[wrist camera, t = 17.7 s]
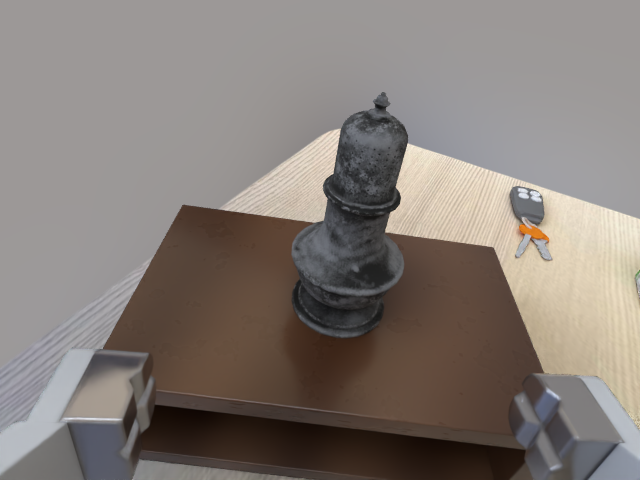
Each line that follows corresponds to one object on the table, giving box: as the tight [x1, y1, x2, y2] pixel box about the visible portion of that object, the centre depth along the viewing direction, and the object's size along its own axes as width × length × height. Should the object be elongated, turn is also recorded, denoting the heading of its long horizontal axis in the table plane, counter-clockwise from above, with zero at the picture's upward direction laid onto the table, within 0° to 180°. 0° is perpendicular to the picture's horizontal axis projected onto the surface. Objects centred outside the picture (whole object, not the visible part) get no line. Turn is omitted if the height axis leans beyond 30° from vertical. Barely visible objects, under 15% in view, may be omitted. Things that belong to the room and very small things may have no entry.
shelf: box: [103, 205, 544, 480], centre depth 27 cm, size 22×14×7 cm, turn 86°
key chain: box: [510, 186, 552, 260], centre depth 46 cm, size 13×4×2 cm, turn 164°
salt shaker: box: [291, 92, 408, 338], centre depth 21 cm, size 6×6×12 cm
